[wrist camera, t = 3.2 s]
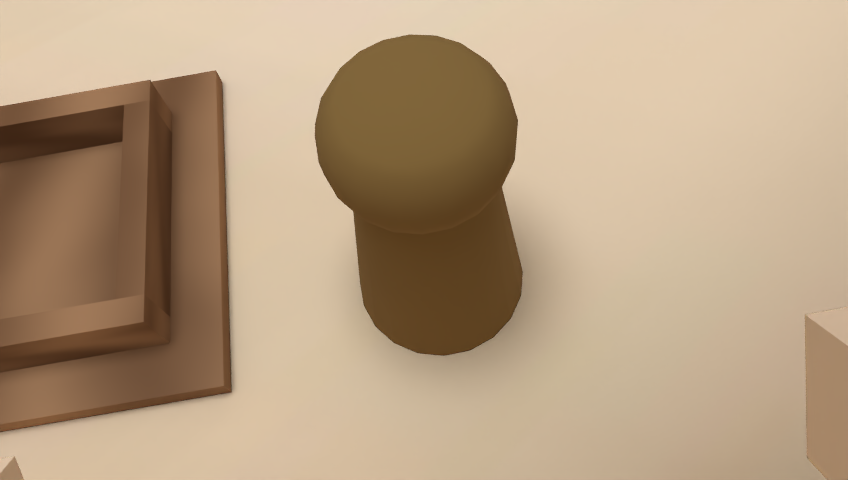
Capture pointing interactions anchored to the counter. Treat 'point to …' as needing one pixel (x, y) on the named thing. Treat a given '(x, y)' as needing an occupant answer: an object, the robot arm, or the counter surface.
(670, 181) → the counter surface
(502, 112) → the cork
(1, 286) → the walnut holder
